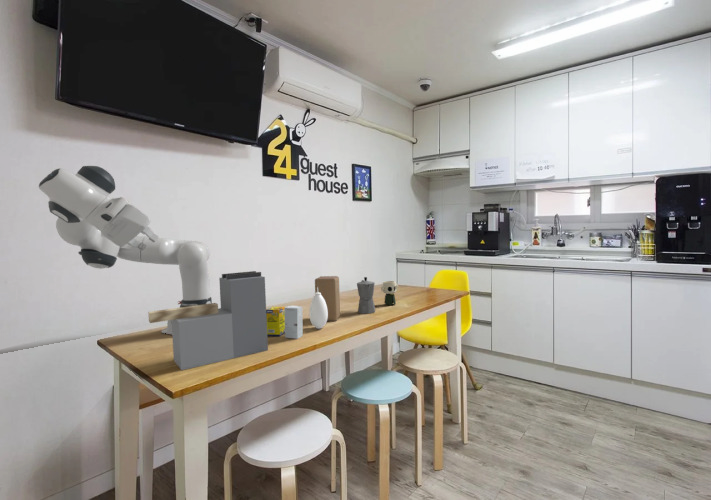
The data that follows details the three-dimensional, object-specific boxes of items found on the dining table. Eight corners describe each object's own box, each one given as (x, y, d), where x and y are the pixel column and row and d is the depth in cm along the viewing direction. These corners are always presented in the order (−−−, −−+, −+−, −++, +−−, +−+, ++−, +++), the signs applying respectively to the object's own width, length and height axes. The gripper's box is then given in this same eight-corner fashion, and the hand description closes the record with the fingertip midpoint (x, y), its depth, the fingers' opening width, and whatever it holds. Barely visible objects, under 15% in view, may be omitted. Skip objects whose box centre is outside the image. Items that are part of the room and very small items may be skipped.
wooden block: (320, 316, 176) (319, 276, 176) (340, 316, 175) (339, 275, 174) (315, 321, 167) (314, 278, 166) (336, 321, 165) (335, 278, 164)
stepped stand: (181, 370, 109) (176, 280, 108) (173, 360, 119) (169, 277, 118) (267, 350, 126) (264, 272, 125) (255, 342, 136) (251, 270, 135)
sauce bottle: (330, 326, 157) (329, 285, 156) (325, 330, 149) (323, 288, 149) (313, 325, 159) (312, 285, 158) (307, 330, 151) (305, 288, 150)
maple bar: (150, 323, 108) (149, 313, 108) (148, 321, 111) (148, 311, 110) (218, 312, 120) (217, 304, 120) (215, 311, 122) (215, 302, 122)
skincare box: (284, 337, 141) (283, 307, 140) (290, 334, 145) (289, 305, 145) (298, 339, 139) (296, 308, 138) (303, 335, 143) (302, 305, 142)
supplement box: (280, 336, 143) (279, 309, 142) (266, 336, 144) (265, 309, 144) (286, 332, 149) (285, 306, 148) (272, 332, 150) (271, 306, 149)
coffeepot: (379, 314, 178) (377, 278, 177) (360, 315, 176) (359, 279, 175) (371, 308, 193) (370, 274, 192) (354, 309, 191) (353, 275, 190)
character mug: (385, 306, 194) (384, 283, 194) (378, 304, 201) (377, 281, 200) (401, 304, 199) (401, 281, 199) (394, 302, 206) (394, 280, 205)
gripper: (88, 233, 107) (132, 260, 114) (110, 210, 94) (157, 242, 101) (102, 218, 111) (144, 245, 117) (125, 194, 98) (170, 226, 105)
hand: (150, 244), depth 109 cm, fingers open, 8 cm apart
